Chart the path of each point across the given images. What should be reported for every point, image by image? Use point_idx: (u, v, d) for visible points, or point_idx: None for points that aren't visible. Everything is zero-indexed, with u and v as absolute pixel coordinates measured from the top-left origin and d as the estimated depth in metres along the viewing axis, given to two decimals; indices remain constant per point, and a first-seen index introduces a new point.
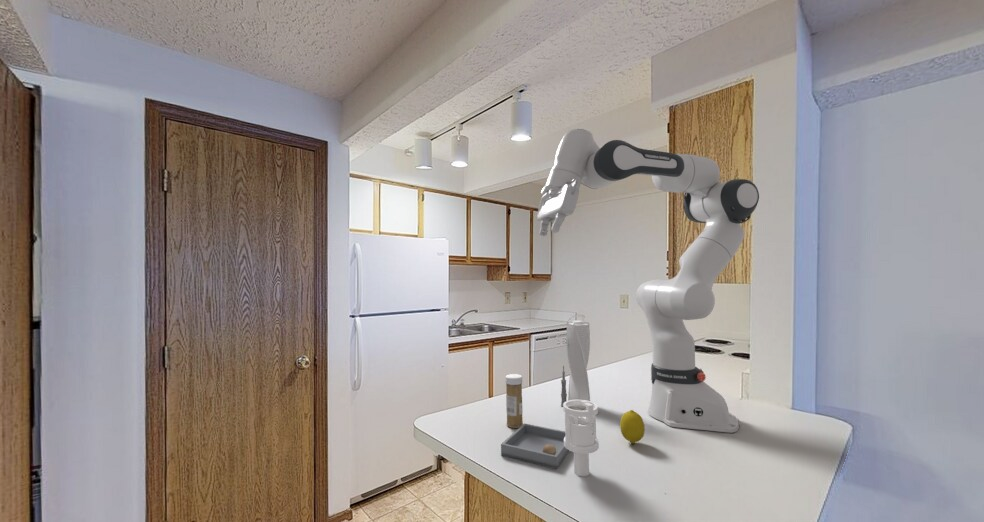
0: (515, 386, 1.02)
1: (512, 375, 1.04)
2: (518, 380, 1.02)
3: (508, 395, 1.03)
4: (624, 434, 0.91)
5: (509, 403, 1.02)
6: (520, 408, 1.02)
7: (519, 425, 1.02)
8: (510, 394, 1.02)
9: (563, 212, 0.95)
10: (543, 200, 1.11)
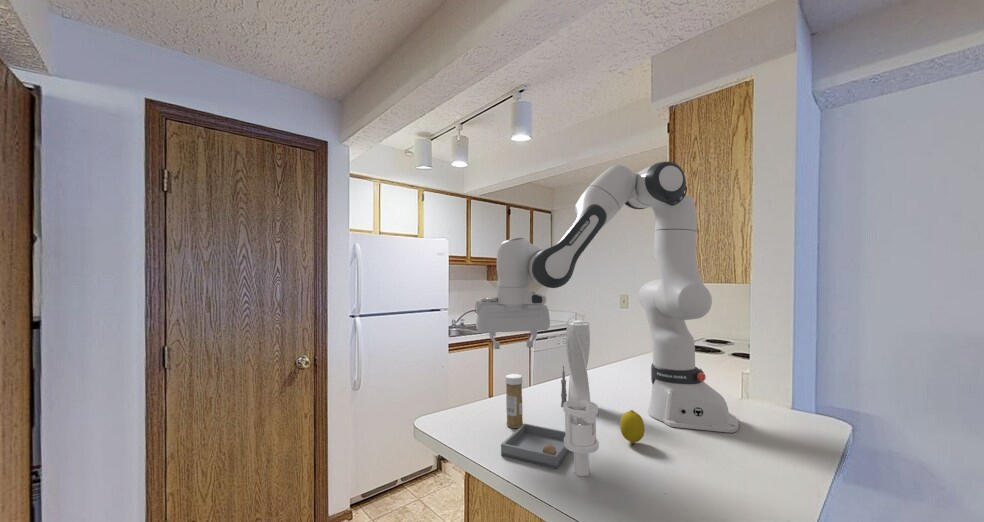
0: (515, 386, 1.02)
1: (512, 375, 1.04)
2: (518, 380, 1.02)
3: (508, 395, 1.03)
4: (624, 434, 0.91)
5: (509, 403, 1.02)
6: (520, 408, 1.02)
7: (519, 425, 1.02)
8: (510, 394, 1.02)
9: None
10: None
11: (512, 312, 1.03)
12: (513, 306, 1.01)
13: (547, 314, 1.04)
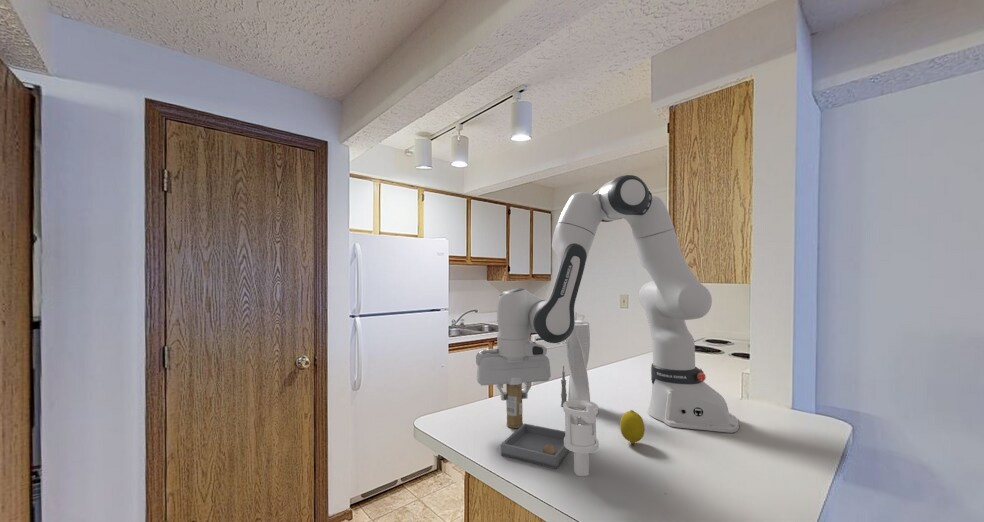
0: (515, 386, 1.02)
1: None
2: (518, 380, 1.02)
3: (508, 395, 1.03)
4: (624, 434, 0.91)
5: (509, 403, 1.02)
6: (520, 408, 1.02)
7: (519, 425, 1.02)
8: (510, 394, 1.02)
9: None
10: None
11: (513, 364, 1.02)
12: (514, 358, 1.01)
13: (548, 365, 1.04)
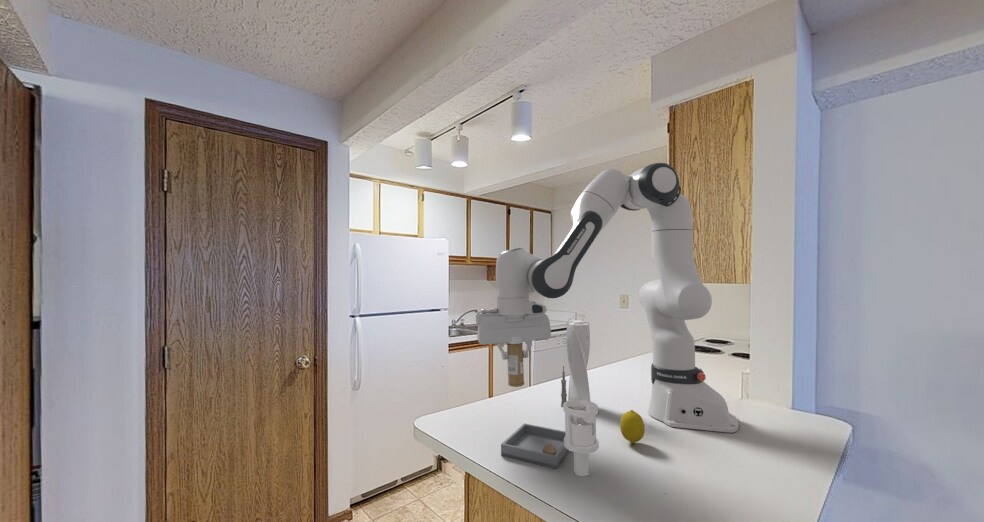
0: (516, 345, 1.02)
1: None
2: (519, 339, 1.02)
3: (509, 354, 1.03)
4: (624, 434, 0.91)
5: (510, 362, 1.03)
6: (521, 367, 1.03)
7: (520, 384, 1.02)
8: (511, 353, 1.02)
9: None
10: None
11: (513, 323, 1.03)
12: (513, 317, 1.01)
13: (548, 323, 1.04)
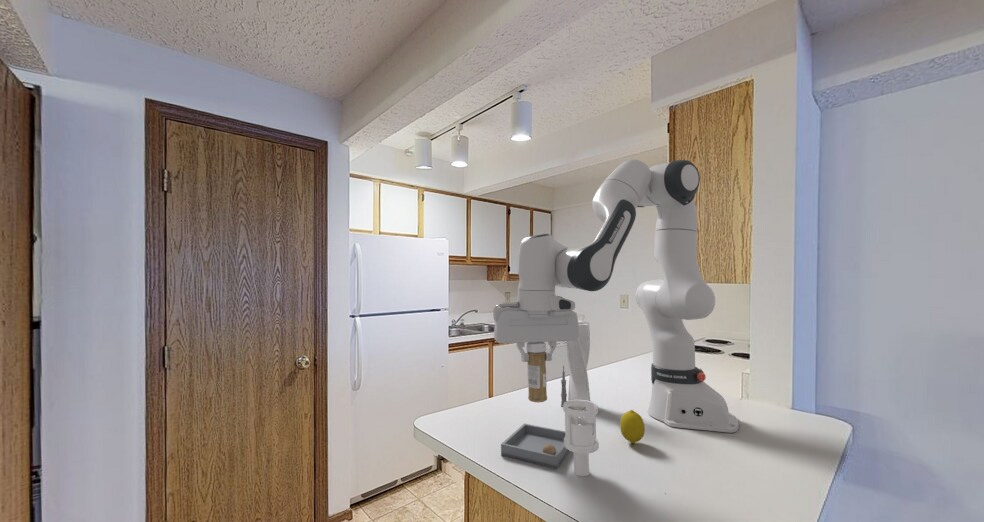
0: (538, 354, 0.88)
1: (534, 342, 0.91)
2: (541, 348, 0.88)
3: (530, 365, 0.89)
4: (624, 434, 0.91)
5: (531, 374, 0.88)
6: (544, 379, 0.88)
7: (543, 399, 0.88)
8: (532, 363, 0.88)
9: None
10: None
11: (536, 319, 0.89)
12: (537, 312, 0.87)
13: (576, 322, 0.90)
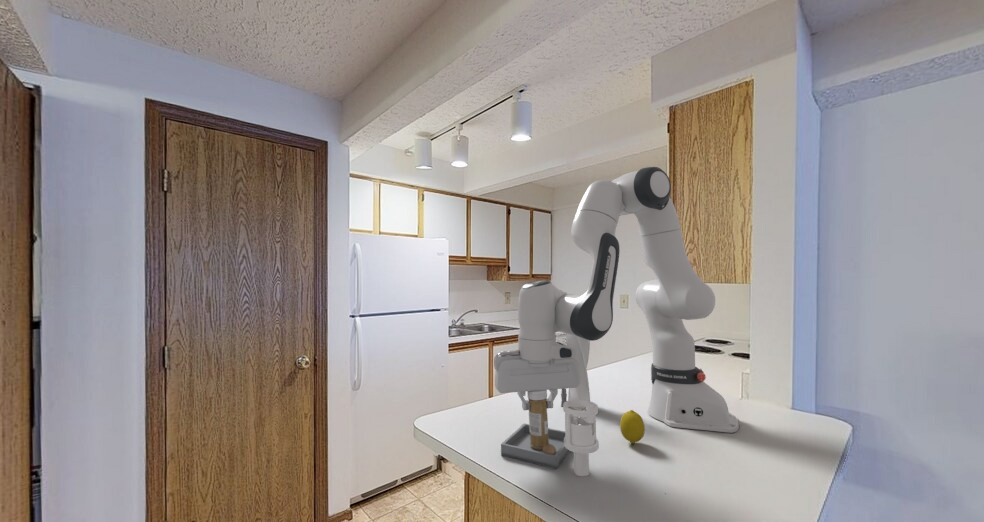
0: (539, 401, 0.88)
1: None
2: (542, 395, 0.88)
3: (531, 412, 0.89)
4: (624, 434, 0.91)
5: (532, 421, 0.88)
6: (545, 427, 0.88)
7: None
8: (533, 411, 0.88)
9: None
10: None
11: (537, 368, 0.89)
12: (538, 362, 0.87)
13: (577, 369, 0.90)
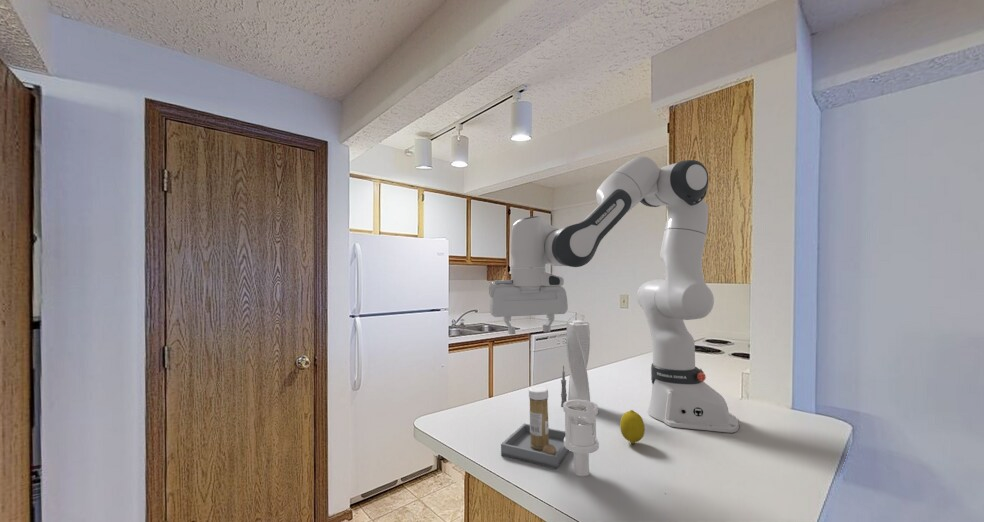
0: (540, 401, 0.88)
1: (536, 388, 0.91)
2: (544, 395, 0.88)
3: (532, 412, 0.89)
4: (624, 434, 0.91)
5: (533, 421, 0.88)
6: (546, 427, 0.88)
7: None
8: (534, 410, 0.88)
9: None
10: None
11: (528, 295, 0.97)
12: (529, 288, 0.96)
13: (565, 297, 0.98)
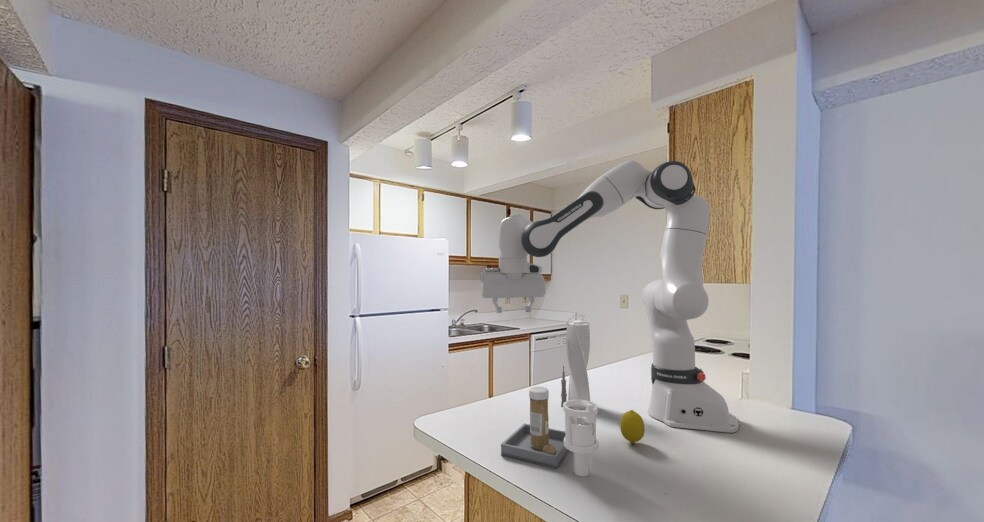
0: (540, 401, 0.88)
1: (537, 388, 0.91)
2: (544, 395, 0.88)
3: (532, 411, 0.89)
4: (624, 434, 0.91)
5: (533, 421, 0.88)
6: (546, 427, 0.88)
7: None
8: (535, 410, 0.88)
9: None
10: None
11: (512, 280, 1.17)
12: (513, 275, 1.16)
13: (543, 282, 1.19)
